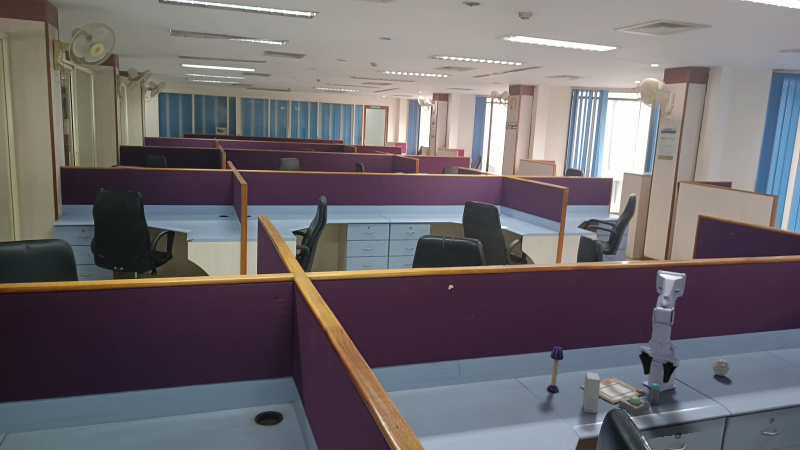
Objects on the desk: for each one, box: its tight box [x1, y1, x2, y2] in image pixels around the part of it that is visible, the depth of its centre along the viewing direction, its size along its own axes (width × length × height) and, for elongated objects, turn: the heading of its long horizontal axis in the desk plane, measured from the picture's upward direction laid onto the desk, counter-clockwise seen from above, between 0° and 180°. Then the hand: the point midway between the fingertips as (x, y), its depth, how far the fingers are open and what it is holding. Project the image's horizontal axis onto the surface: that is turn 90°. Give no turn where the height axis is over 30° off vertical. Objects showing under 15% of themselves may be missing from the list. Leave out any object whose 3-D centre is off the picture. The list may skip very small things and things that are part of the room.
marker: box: [649, 383, 660, 406], centre depth 202 cm, size 3×3×7 cm
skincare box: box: [582, 371, 601, 414], centre depth 196 cm, size 6×4×12 cm
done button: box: [629, 396, 641, 406], centre depth 197 cm, size 3×3×3 cm
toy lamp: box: [546, 345, 564, 394], centre depth 208 cm, size 5×5×17 cm
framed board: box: [579, 376, 647, 405], centre depth 211 cm, size 18×15×1 cm
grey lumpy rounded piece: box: [711, 358, 730, 377], centre depth 227 cm, size 6×7×7 cm
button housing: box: [618, 397, 651, 416], centre depth 197 cm, size 7×7×2 cm
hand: (656, 378), depth 201 cm, fingers open, 7 cm apart
